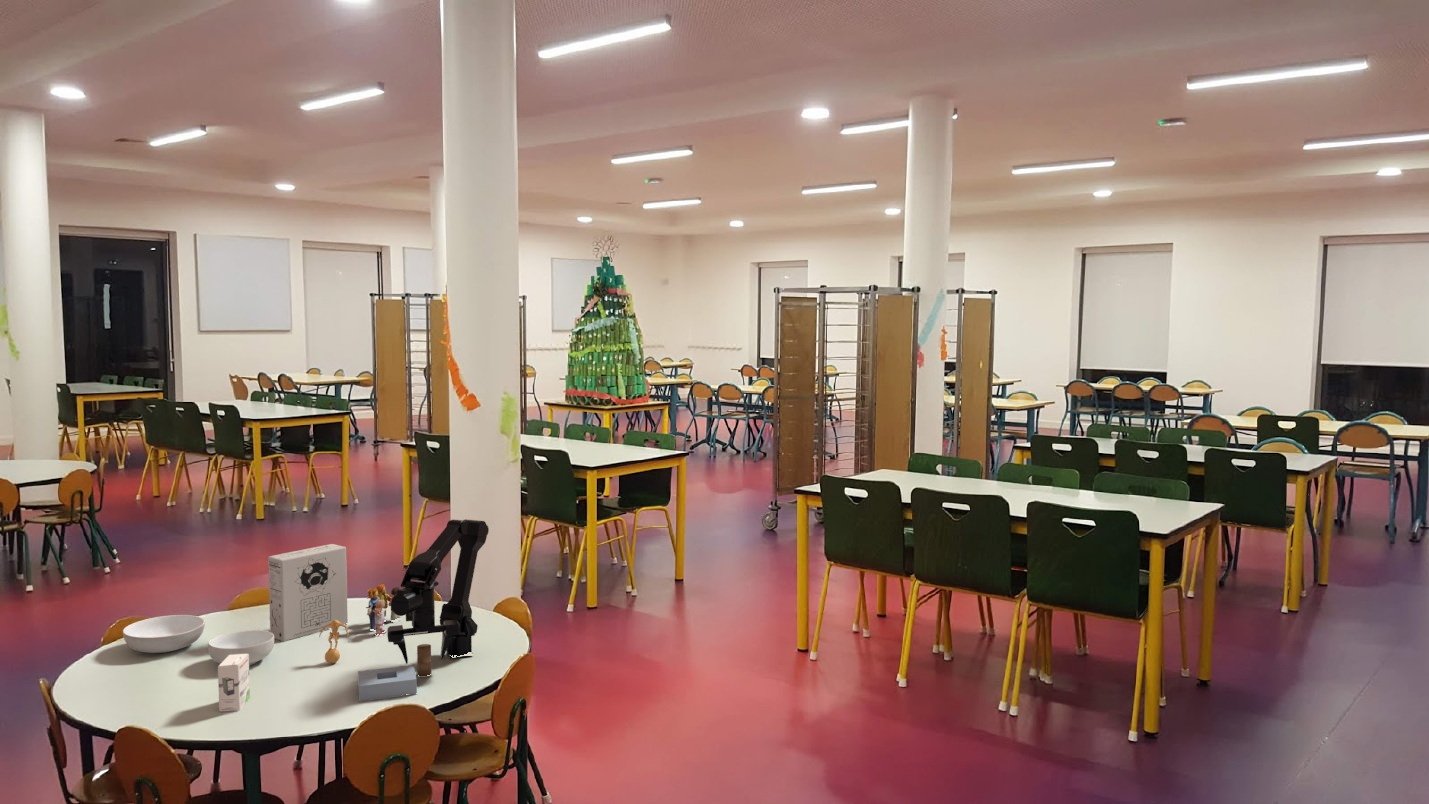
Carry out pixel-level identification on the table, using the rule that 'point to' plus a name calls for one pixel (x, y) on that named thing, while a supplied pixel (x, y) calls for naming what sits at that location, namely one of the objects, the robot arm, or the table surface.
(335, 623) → the figurine
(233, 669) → the ink box
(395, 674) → the socket block
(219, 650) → the cereal bowl
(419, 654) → the peg
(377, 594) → the doll family
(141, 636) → the serving bowl
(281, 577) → the cereal box
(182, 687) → the table surface
